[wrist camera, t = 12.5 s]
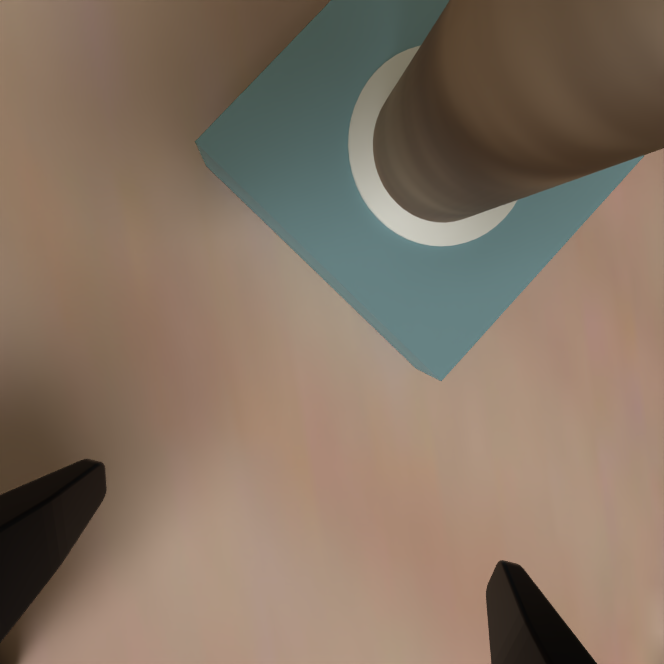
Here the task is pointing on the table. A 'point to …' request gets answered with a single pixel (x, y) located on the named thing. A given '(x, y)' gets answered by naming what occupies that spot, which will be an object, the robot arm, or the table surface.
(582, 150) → the walnut post
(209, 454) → the table surface
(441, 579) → the table surface
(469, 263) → the plinth
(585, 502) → the table surface
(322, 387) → the table surface
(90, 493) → the robot arm
